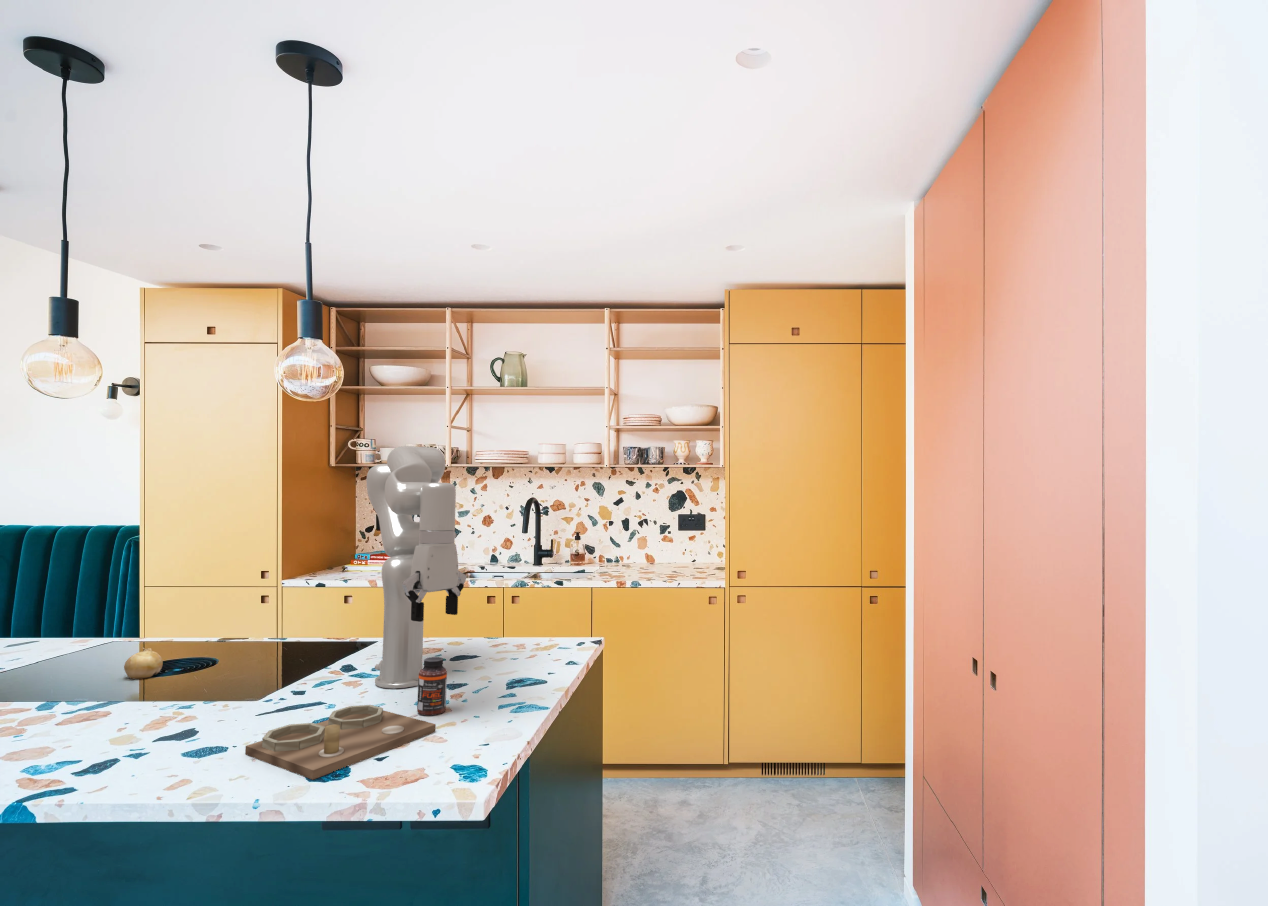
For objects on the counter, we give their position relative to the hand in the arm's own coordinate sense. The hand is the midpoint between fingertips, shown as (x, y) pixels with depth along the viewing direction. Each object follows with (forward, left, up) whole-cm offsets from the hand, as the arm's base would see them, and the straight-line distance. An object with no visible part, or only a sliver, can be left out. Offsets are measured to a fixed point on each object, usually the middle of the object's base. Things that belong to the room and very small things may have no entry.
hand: (434, 617), depth 142 cm
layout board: (0, -21, -20) cm, 29 cm away
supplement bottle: (0, 0, -20) cm, 20 cm away
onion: (-83, -20, -20) cm, 88 cm away
